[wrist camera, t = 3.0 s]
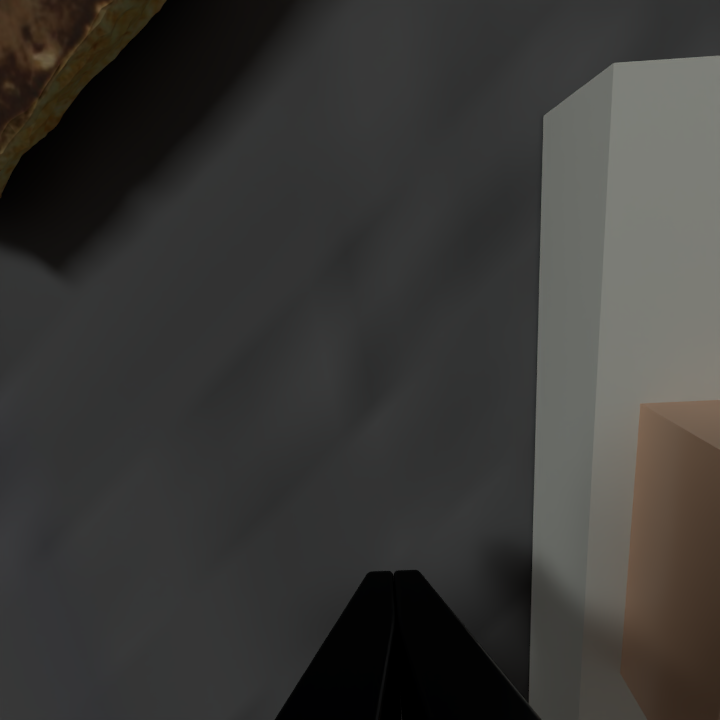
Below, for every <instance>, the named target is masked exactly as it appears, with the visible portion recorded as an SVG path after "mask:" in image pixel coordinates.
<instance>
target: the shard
mask: <svg viewBox="0 0 720 720" xmlns="http://www.w3.org/2000/svg"><path fill="white" fill-rule="evenodd" d="M166 1H167V0H0V198H1V197H2V195H1V194H2V192H3V190H4V188H5V186H6V184H7V181H8V179H9V178H10V175H11V173H12V171H13V169H14V168H15V166H16V165H17V163H18V162H19V160H20V158H21V156H22V155H23V154H24V153H25V152H27V151H28V150H29V149H30V148H31V147H32V146H34V145H35V144H37V142H38V141H40V140H41V139H43V138H44V137H45V136H46V135H47V133H48V132H50V131H51V130H53V129H54V128H55V127H56V126H57V124H58V123H59V122H60V120H61V118H62V116H63V114H64V113H65V111H66V110H67V109H68V107H69V106H70V105H71V103H72V102H73V101H74V99H75V98H76V97H77V95H78V94H79V93H80V91H81V90H82V89H83V88H84V87H85V86H86V85H87V84H88V82H89V81H90V80H91V79H92V78H93V77H94V76H96V75H97V74H98V73H99V72H100V71H101V70H103V69H104V68H105V67H106V66H107V65H108V64H109V63H110V62H111V61H113V60H114V59H115V58H116V57H117V55H118V54H119V53H120V51H121V50H122V49H123V48H125V46H126V45H127V44H128V43H129V42H130V41H131V40H132V39H133V38H134V37H135V36H136V35H137V34H138V33H139V32H140V31H141V30H142V29H143V28H144V27H145V26H146V24H147V23H148V22H149V20H150V19H151V18H152V17H153V16H154V15H155V14H156V13H157V12H159V11H160V9H161V8H162V6H163V4H164V3H165V2H166Z"/></svg>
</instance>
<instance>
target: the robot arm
mask: <svg viewBox="0 0 720 720" xmlns="http://www.w3.org/2000/svg"><path fill="white" fill-rule="evenodd" d="M400 696H401V700H400ZM401 711H402V720H542V719H541V718H540V717H539V716H538V714H537V713H536V712H535V711H534V710H533V708H532V707H531V706H530V705H529V703H528V702H527V701H526V700H525V699H524V697H523V696H522V695H521V694H520V693H519V691H518V690H517V689H516V688H515V687H514V685H513V684H512V683H511V682H510V681H509V679H508V678H507V677H506V676H505V674H504V673H503V672H502V671H501V670H500V668H499V667H498V666H497V665H496V664H495V662H494V661H493V660H492V659H491V658H490V656H489V655H488V654H487V653H486V651H485V650H484V649H483V648H482V647H481V645H480V644H479V643H478V642H477V641H476V639H475V638H474V637H473V636H472V635H471V633H470V632H469V631H468V630H467V628H466V627H465V626H464V625H463V624H462V622H461V621H460V620H459V619H458V618H457V616H456V615H455V614H454V613H453V612H452V610H451V609H450V608H449V607H448V605H447V604H446V603H445V602H444V601H443V599H442V598H441V597H440V596H439V595H438V593H437V592H436V591H435V590H434V589H433V587H432V586H431V585H430V584H429V583H428V581H427V580H426V579H425V578H424V576H423V575H422V574H421V573H420V572H419V571H418V570H400V571H396V572H395V573H394V578H393V573H392V572H390V571H373V572H369V573H367V575H366V576H365V578H364V579H363V581H362V583H361V584H360V586H359V587H358V589H357V591H356V592H355V594H354V595H353V597H352V598H351V600H350V602H349V603H348V605H347V606H346V608H345V609H344V611H343V613H342V614H341V616H340V617H339V619H338V621H337V622H336V624H335V625H334V627H333V628H332V630H331V632H330V633H329V635H328V636H327V638H326V639H325V641H324V643H323V644H322V646H321V647H320V649H319V651H318V652H317V654H316V655H315V657H314V658H313V660H312V662H311V663H310V665H309V666H308V668H307V670H306V671H305V673H304V674H303V676H302V677H301V679H300V681H299V682H298V684H297V685H296V687H295V688H294V690H293V692H292V693H291V695H290V696H289V698H288V700H287V701H286V703H285V704H284V706H283V707H282V709H281V711H280V712H279V714H278V715H277V717H276V718H275V720H401Z"/></svg>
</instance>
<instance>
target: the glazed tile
mask: <svg viewBox="0 0 720 720" xmlns="http://www.w3.org/2000/svg"><path fill="white" fill-rule="evenodd" d="M620 674H621V676H622V677H623V679H624V681H625V682H626V684H627V686H628V688H629V689H630V691H631V693H632V694H633V696H634V698H635V700H636V701H637V703H638V705H639V706H640V708H641V710H642V712H643V713H644V715H645V717H646V718H647V720H720V400H705V401H683V402H661V403H640V415H639V428H638V442H637V455H636V468H635V482H634V495H633V508H632V522H631V535H630V548H629V562H628V575H627V588H626V602H625V615H624V628H623V642H622V655H621V668H620Z"/></svg>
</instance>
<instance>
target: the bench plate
mask: <svg viewBox="0 0 720 720" xmlns="http://www.w3.org/2000/svg"><path fill="white" fill-rule="evenodd" d="M705 400H720V56H708V57H694V58H679V59H665V60H650V61H636V62H621V63H613V64H612V65H611V66H609V67H608V68H607V69H605V70H604V71H603V72H601V73H600V74H599V75H597V76H596V77H595V78H593V79H592V80H591V81H589V82H588V83H587V84H585V85H584V86H583V87H581V88H580V89H579V90H577V91H576V92H575V93H573V94H572V95H571V96H569V97H568V98H567V99H565V100H564V101H563V102H561V103H560V104H559V105H557V106H556V107H555V108H553V109H552V110H551V111H549V112H548V113H547V114H545V115H544V119H543V158H542V198H541V237H540V277H539V316H538V355H537V395H536V434H535V474H534V513H533V553H532V592H531V632H530V671H529V705H530V706H531V707H532V708H533V710H534V711H535V712H536V713H537V714H538V716H539V717H540V718H541V719H542V720H647V718H646V717H645V715H644V713H643V712H642V710H641V708H640V706H639V705H638V703H637V701H636V700H635V698H634V696H633V694H632V693H631V691H630V689H629V688H628V686H627V684H626V682H625V681H624V679H623V677H622V676H621V674H620V668H621V655H622V642H623V628H624V615H625V602H626V588H627V575H628V562H629V548H630V535H631V522H632V508H633V495H634V482H635V468H636V455H637V442H638V428H639V415H640V403H661V402H683V401H705Z"/></svg>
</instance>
